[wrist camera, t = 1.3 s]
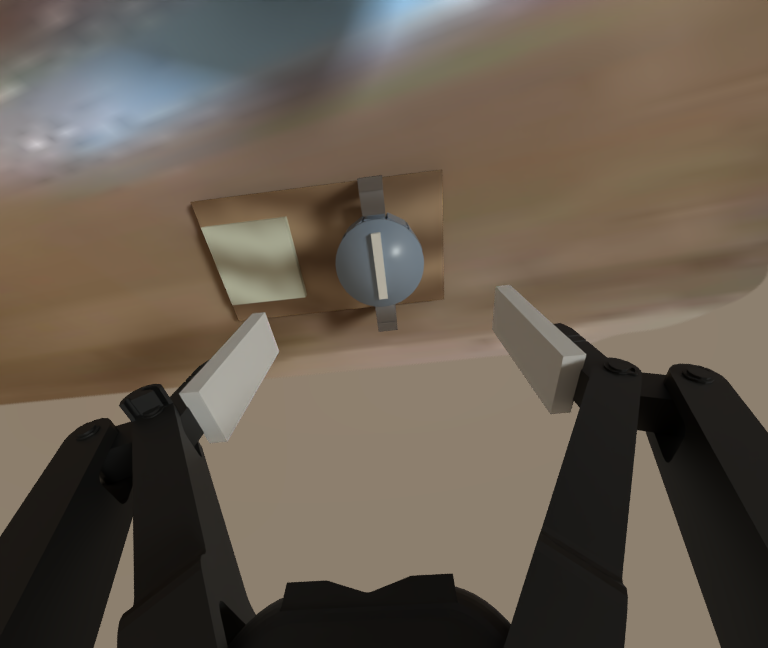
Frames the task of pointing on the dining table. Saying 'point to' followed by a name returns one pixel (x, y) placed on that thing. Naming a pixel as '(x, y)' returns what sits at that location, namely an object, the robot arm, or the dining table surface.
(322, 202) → the base
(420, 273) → the cap
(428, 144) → the dining table surface
